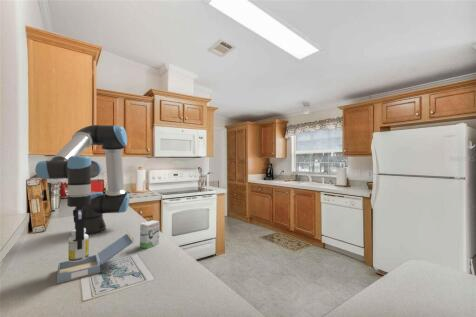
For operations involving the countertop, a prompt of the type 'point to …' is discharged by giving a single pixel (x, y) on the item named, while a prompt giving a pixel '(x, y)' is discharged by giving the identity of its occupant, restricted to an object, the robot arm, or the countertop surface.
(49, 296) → the countertop surface
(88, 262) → the box
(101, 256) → the lid
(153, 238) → the ink box
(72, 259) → the pill bottle
